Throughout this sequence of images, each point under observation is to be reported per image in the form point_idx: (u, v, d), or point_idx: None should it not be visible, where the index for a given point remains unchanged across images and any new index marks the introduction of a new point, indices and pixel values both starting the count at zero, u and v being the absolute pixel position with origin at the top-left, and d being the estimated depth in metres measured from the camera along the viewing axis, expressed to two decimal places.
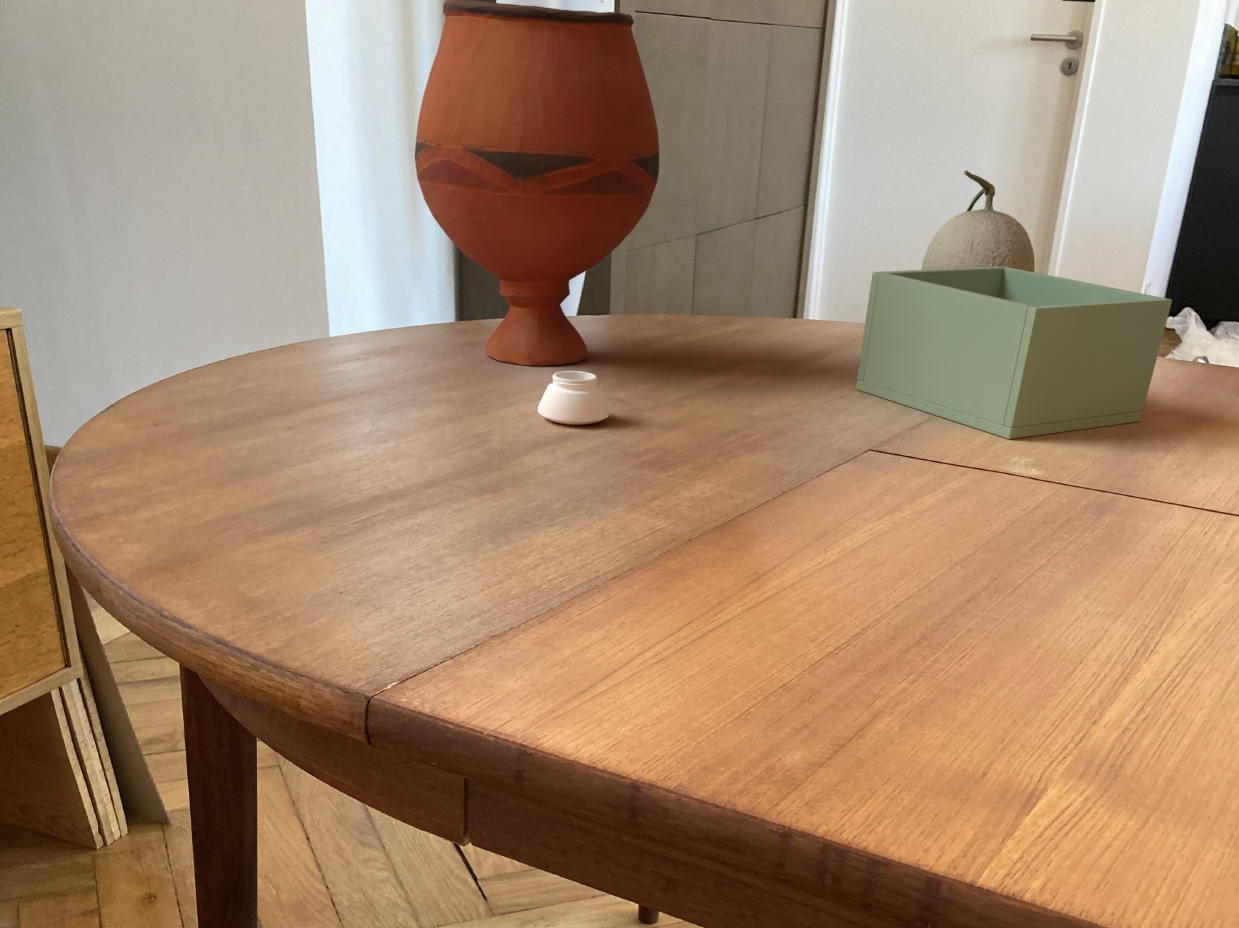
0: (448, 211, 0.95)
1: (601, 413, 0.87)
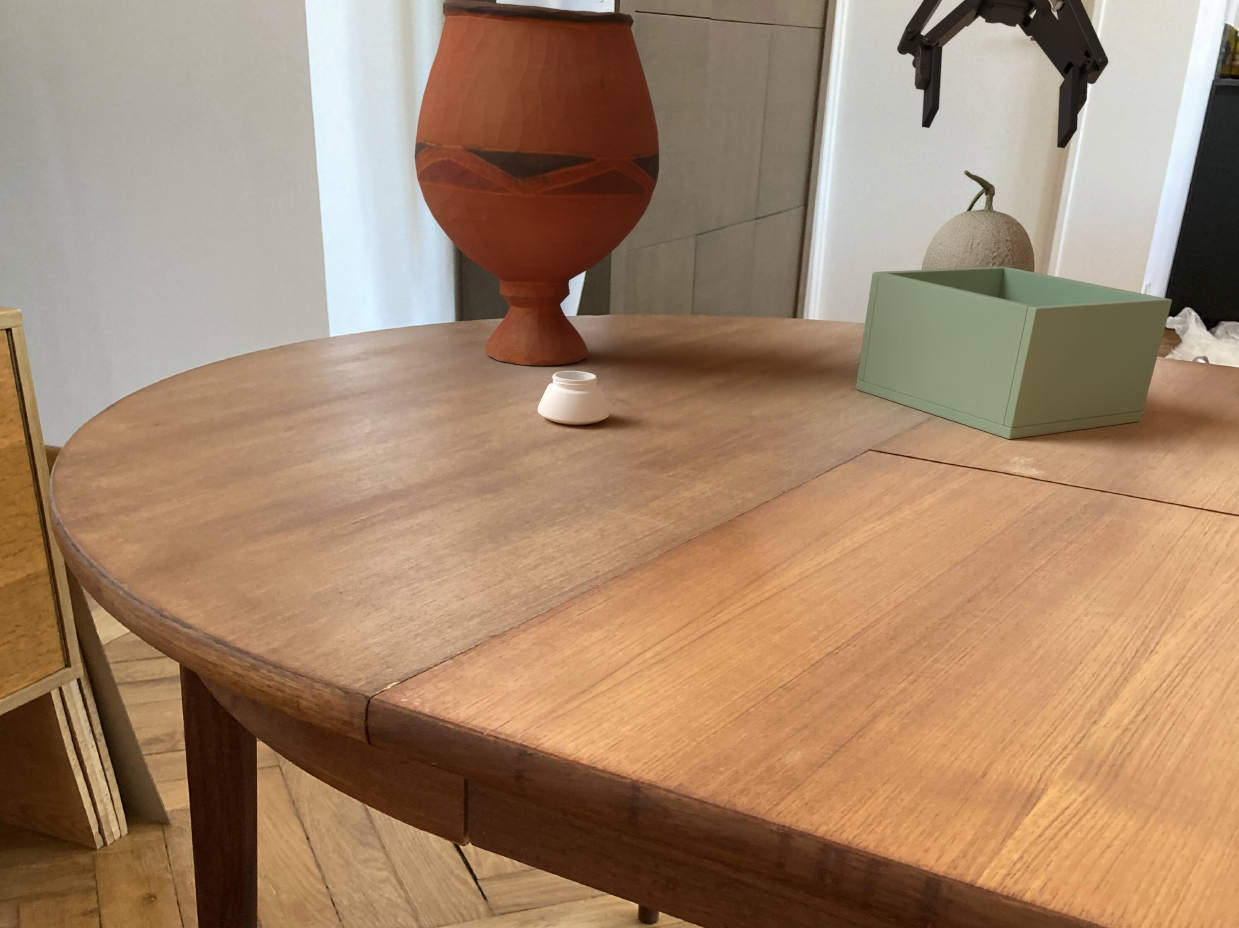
0: (447, 211, 0.95)
1: (601, 413, 0.87)
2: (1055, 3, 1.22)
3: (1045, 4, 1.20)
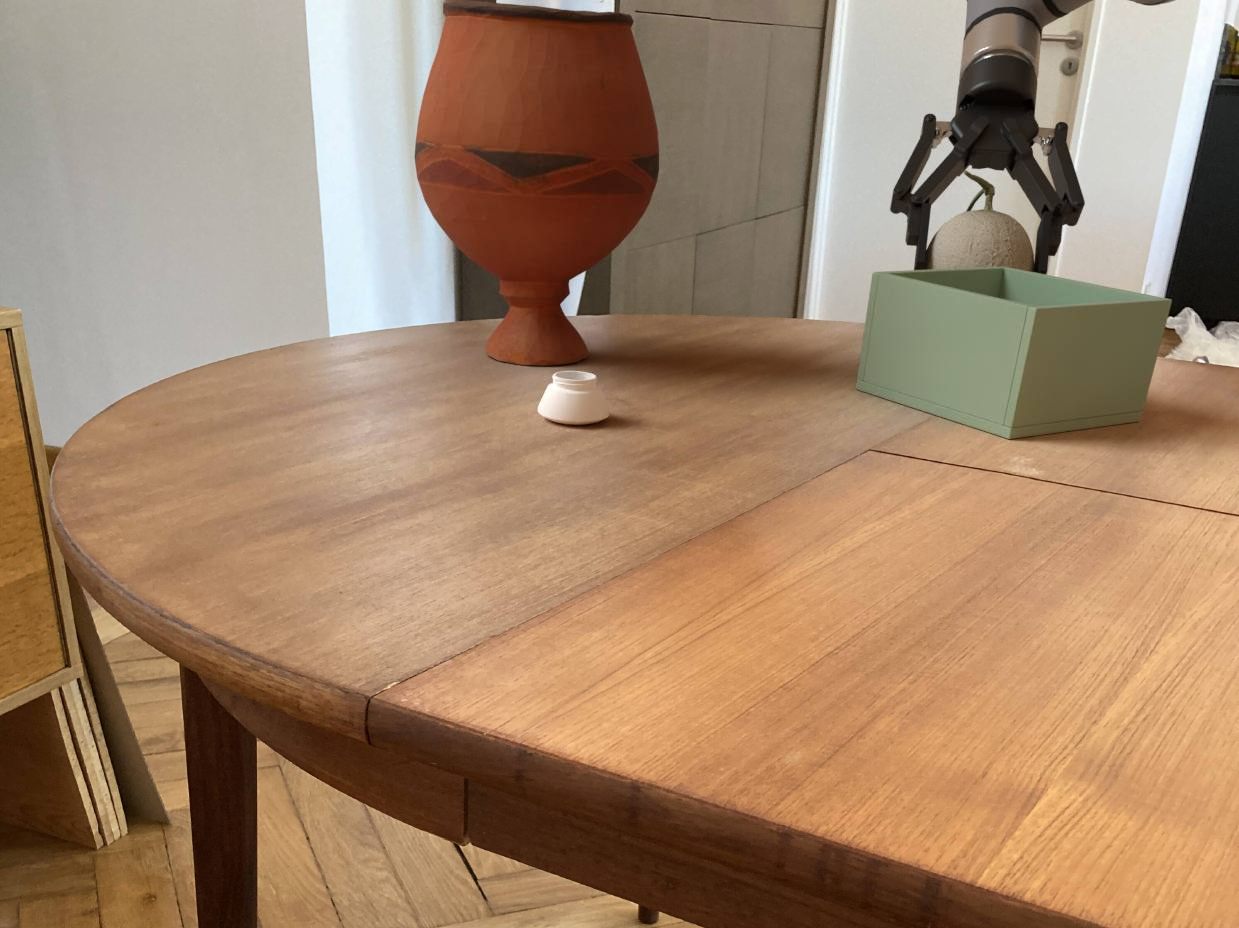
0: (447, 211, 0.95)
1: (601, 413, 0.87)
2: (1043, 147, 1.21)
3: (1026, 149, 1.19)
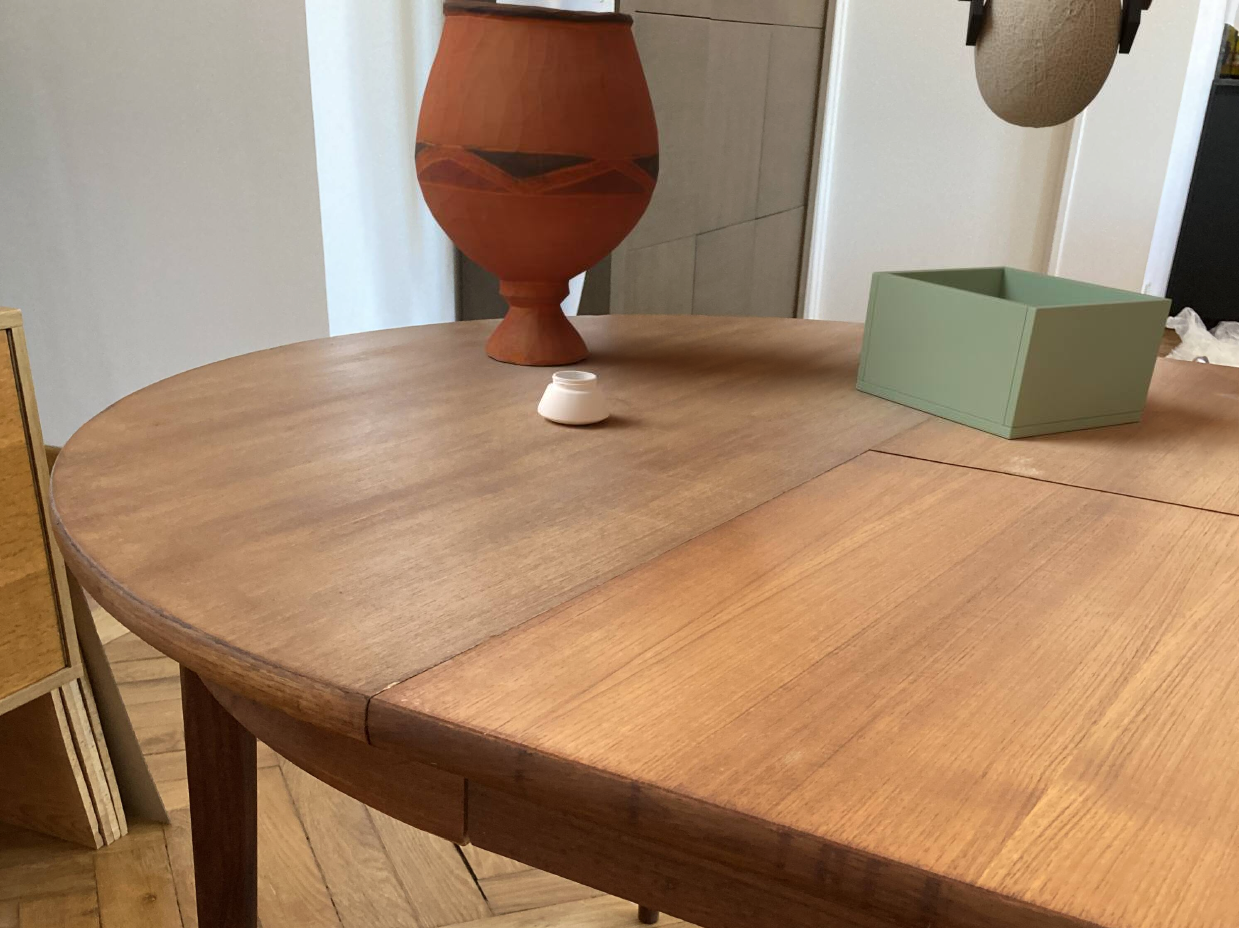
0: (447, 211, 0.95)
1: (601, 413, 0.87)
2: None
3: None
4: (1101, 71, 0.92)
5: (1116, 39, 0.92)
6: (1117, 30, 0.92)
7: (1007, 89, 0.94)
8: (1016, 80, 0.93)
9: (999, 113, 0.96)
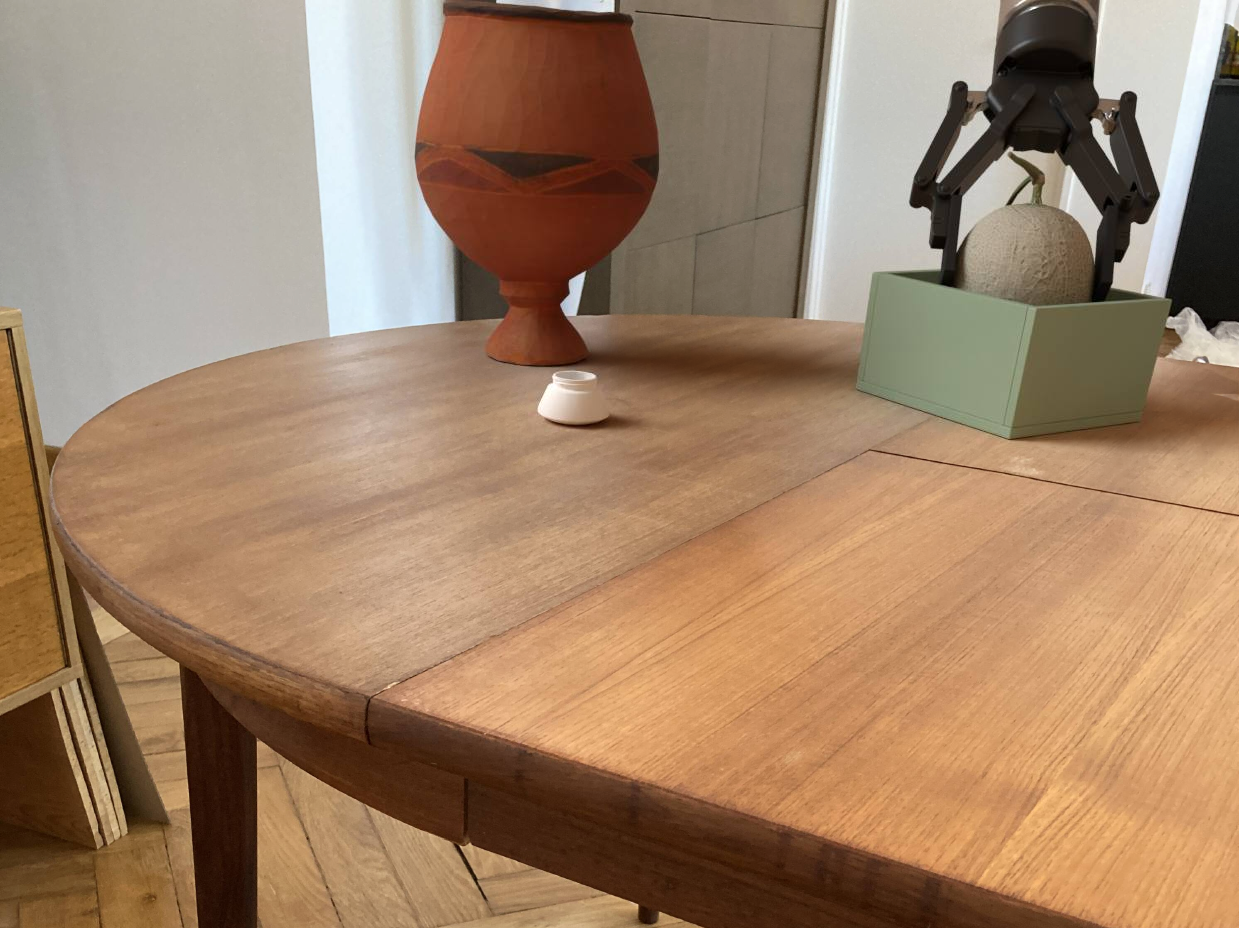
0: (447, 211, 0.95)
1: (601, 413, 0.87)
2: (1105, 123, 0.95)
3: (1083, 125, 0.93)
4: None
5: (1089, 295, 0.91)
6: (1090, 287, 0.91)
7: None
8: None
9: None
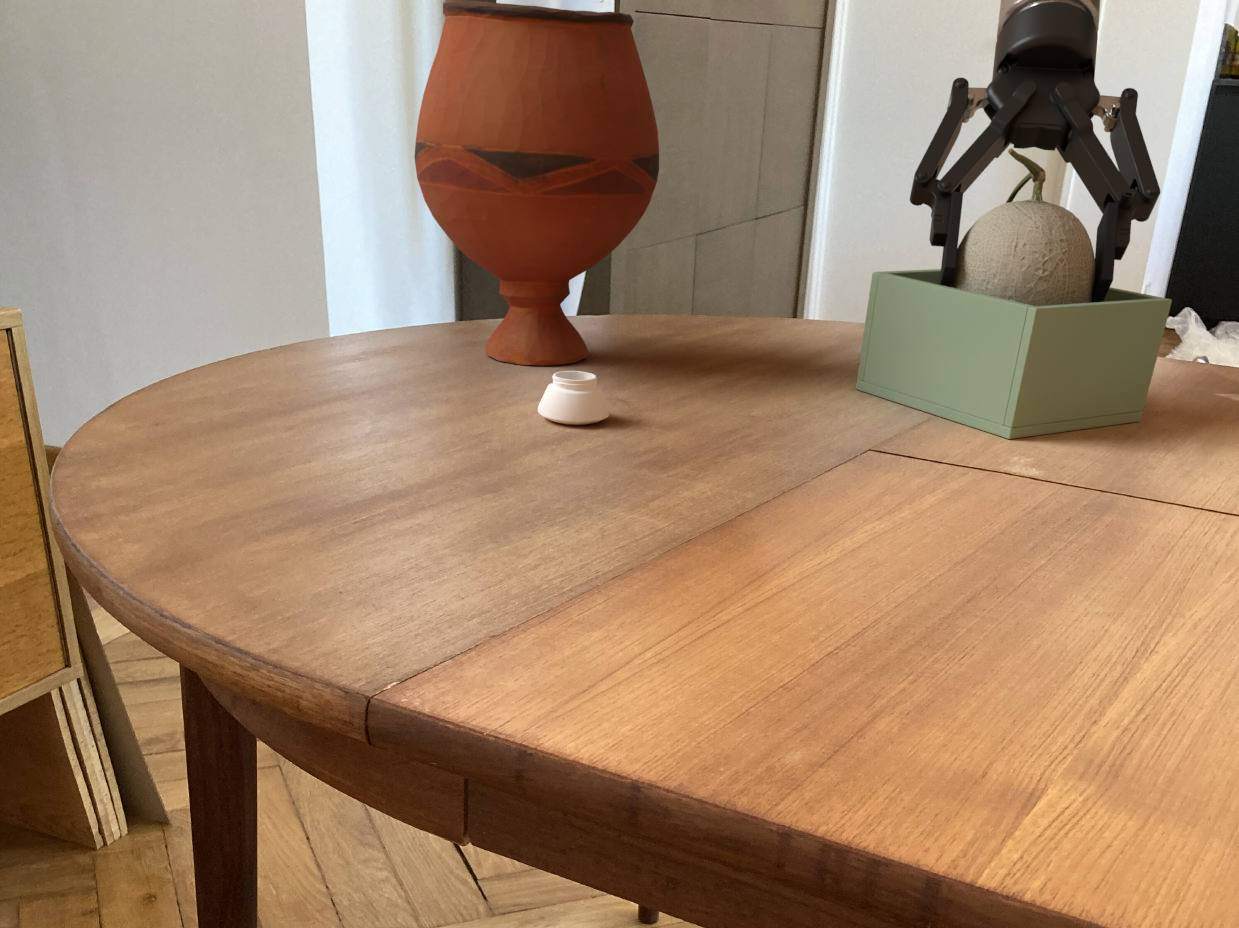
0: (447, 211, 0.95)
1: (601, 413, 0.87)
2: (1105, 120, 0.95)
3: (1084, 122, 0.93)
4: None
5: (1089, 292, 0.91)
6: (1090, 284, 0.91)
7: None
8: None
9: None
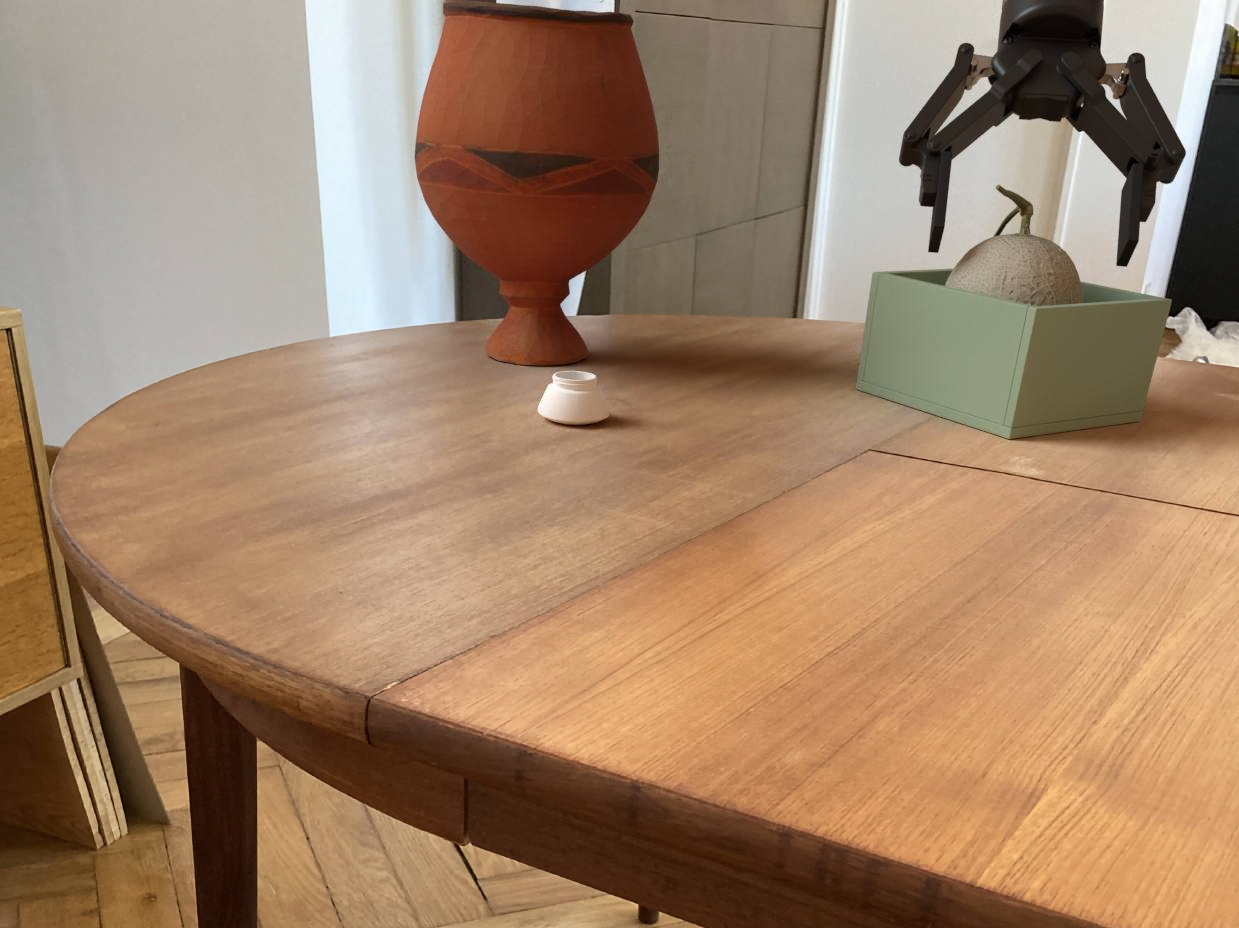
0: (447, 211, 0.95)
1: (601, 413, 0.87)
2: (1115, 88, 0.94)
3: (1096, 89, 0.92)
4: None
5: None
6: None
7: None
8: None
9: None
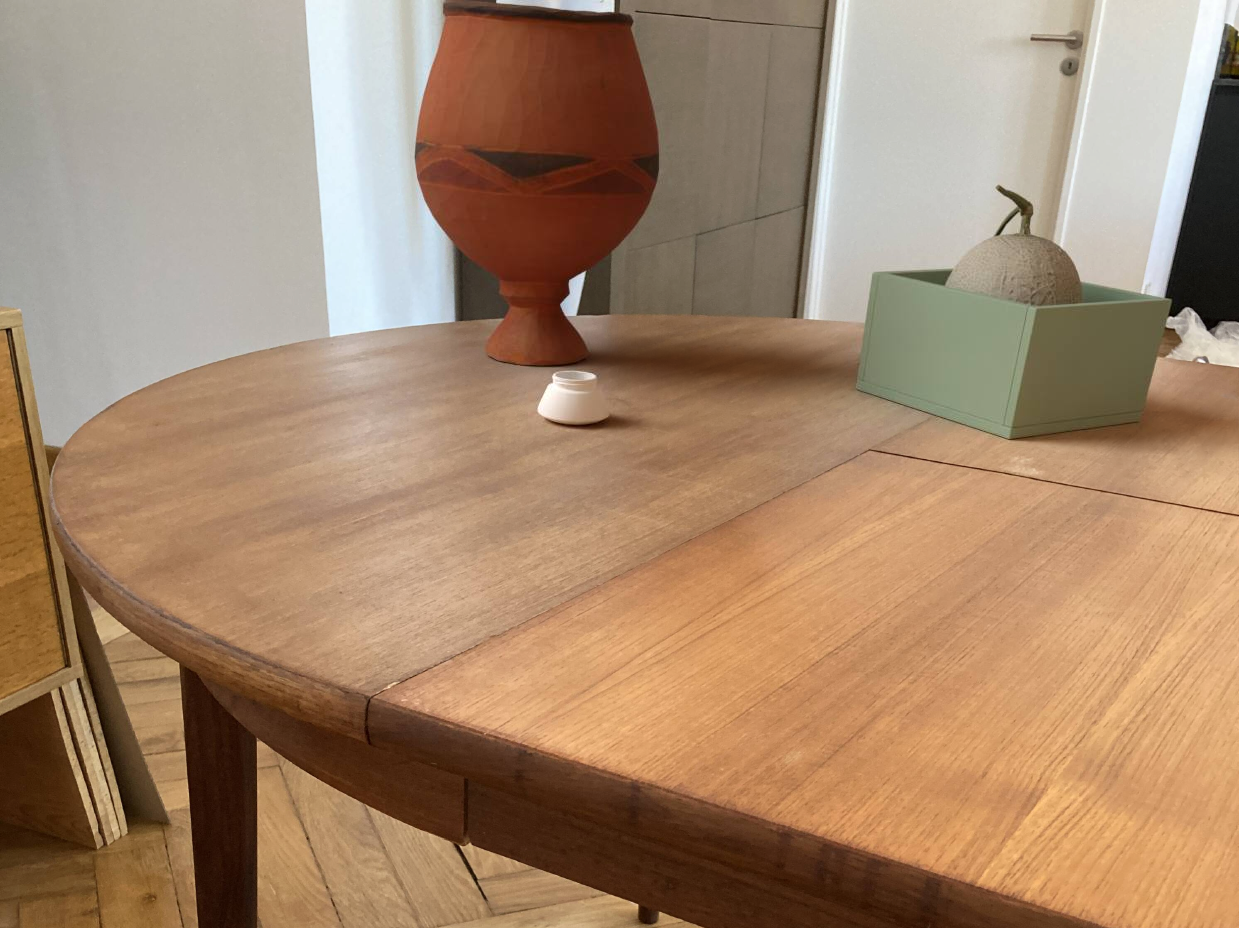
0: (447, 211, 0.95)
1: (601, 413, 0.87)
2: None
3: None
4: None
5: None
6: None
7: None
8: None
9: None
